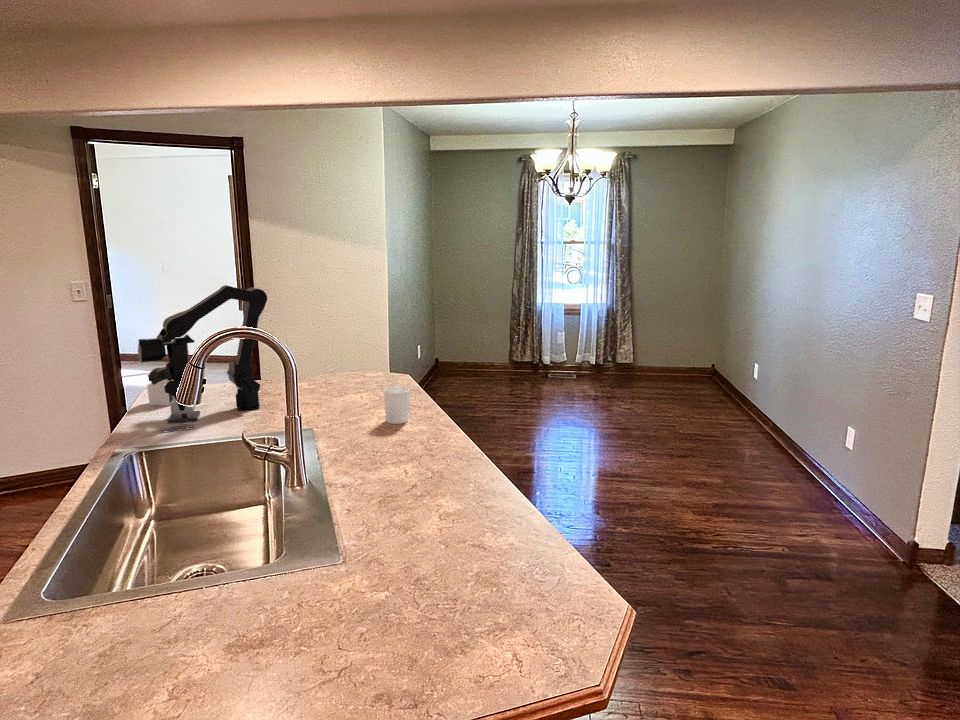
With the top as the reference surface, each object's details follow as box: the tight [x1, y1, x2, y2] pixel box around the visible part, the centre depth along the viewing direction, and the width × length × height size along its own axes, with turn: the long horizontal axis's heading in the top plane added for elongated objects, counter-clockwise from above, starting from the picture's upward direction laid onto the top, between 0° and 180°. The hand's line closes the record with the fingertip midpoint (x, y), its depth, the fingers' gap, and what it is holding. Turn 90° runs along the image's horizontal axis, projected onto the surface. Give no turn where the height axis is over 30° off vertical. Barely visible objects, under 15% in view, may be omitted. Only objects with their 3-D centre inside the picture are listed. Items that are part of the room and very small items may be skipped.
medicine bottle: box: [146, 366, 175, 407], centre depth 202 cm, size 7×7×12 cm
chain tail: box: [159, 422, 195, 433], centre depth 176 cm, size 9×2×1 cm, turn 116°
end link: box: [169, 398, 196, 416], centre depth 186 cm, size 6×6×4 cm
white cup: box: [383, 385, 410, 425], centre depth 185 cm, size 8×8×10 cm
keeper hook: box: [167, 410, 201, 424], centre depth 186 cm, size 8×8×5 cm
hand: (183, 407), depth 186 cm, fingers closed on end link, 6 cm apart
